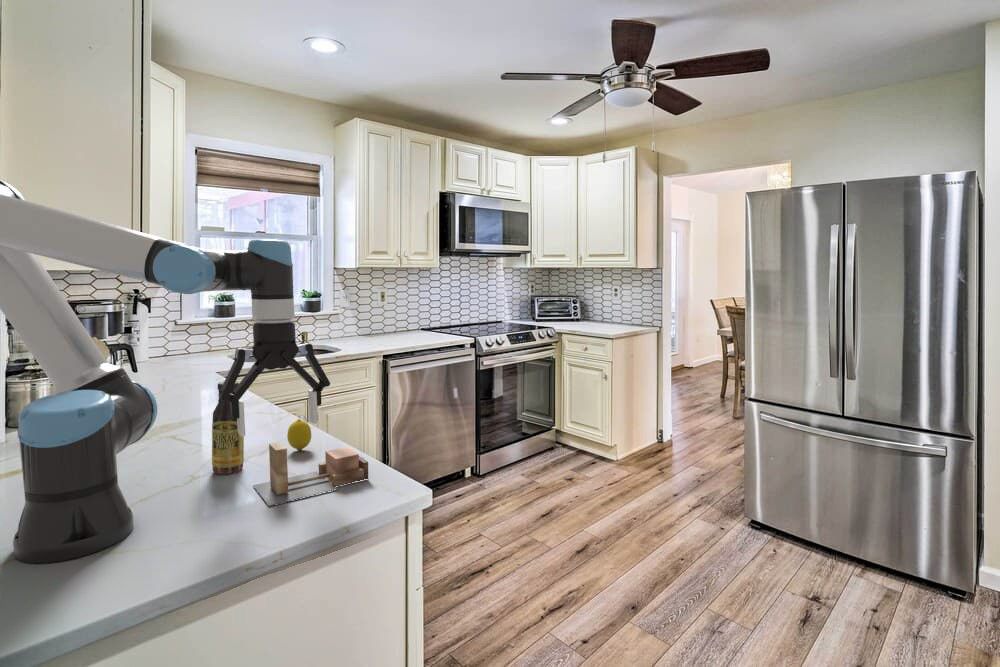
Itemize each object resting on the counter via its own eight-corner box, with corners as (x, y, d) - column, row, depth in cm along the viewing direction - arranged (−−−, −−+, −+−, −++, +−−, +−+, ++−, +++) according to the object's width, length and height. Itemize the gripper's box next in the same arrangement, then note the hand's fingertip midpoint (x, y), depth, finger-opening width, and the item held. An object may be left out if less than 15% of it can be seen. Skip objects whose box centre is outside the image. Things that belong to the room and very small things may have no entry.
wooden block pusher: (348, 468, 116) (347, 429, 116) (359, 476, 112) (358, 435, 111) (269, 486, 106) (268, 443, 105) (278, 495, 102) (276, 451, 101)
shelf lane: (348, 465, 120) (348, 448, 119) (371, 482, 110) (370, 463, 110) (253, 486, 107) (252, 467, 107) (269, 507, 98) (268, 486, 97)
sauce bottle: (209, 477, 112) (204, 385, 110) (216, 466, 118) (212, 380, 116) (242, 474, 114) (238, 384, 112) (248, 464, 120) (244, 379, 117)
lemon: (304, 445, 133) (303, 415, 132) (316, 450, 130) (315, 419, 129) (283, 451, 129) (282, 419, 128) (295, 456, 126) (294, 423, 125)
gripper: (330, 316, 112) (333, 413, 114) (197, 323, 96) (204, 435, 99) (343, 318, 106) (347, 421, 108) (204, 326, 90) (211, 445, 93)
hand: (279, 428), depth 103 cm, fingers open, 13 cm apart
